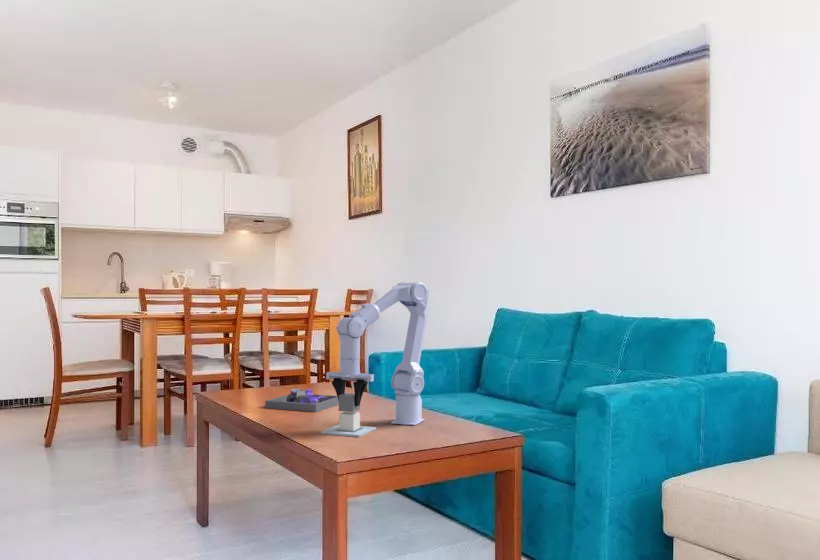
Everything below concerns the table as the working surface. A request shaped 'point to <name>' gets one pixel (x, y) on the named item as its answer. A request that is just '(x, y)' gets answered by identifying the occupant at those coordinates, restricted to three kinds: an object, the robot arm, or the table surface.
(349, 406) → the charcoal block
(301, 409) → the car parking frame
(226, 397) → the table surface
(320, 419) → the table surface
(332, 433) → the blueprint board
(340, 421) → the cream block
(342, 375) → the robot arm
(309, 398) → the toy race car
